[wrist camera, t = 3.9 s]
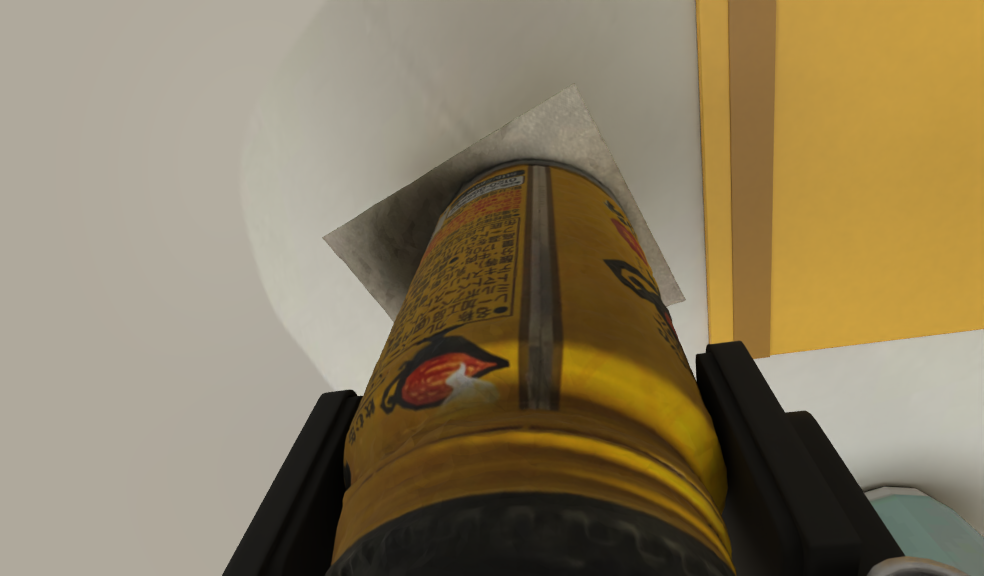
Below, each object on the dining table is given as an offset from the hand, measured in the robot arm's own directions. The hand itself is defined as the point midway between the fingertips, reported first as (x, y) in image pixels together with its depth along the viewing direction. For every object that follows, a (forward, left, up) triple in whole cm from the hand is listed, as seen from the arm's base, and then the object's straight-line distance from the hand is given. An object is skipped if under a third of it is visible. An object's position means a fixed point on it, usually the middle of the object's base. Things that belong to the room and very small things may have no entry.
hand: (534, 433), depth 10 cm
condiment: (0, -1, -7) cm, 7 cm away
